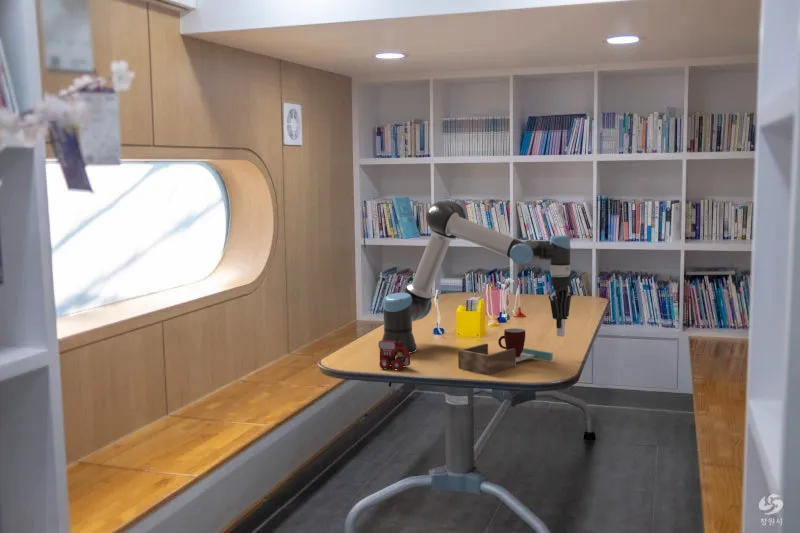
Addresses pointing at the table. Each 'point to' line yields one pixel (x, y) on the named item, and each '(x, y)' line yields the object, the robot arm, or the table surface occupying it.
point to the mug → (513, 340)
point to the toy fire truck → (393, 354)
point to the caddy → (486, 359)
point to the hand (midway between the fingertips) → (560, 336)
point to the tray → (534, 355)
